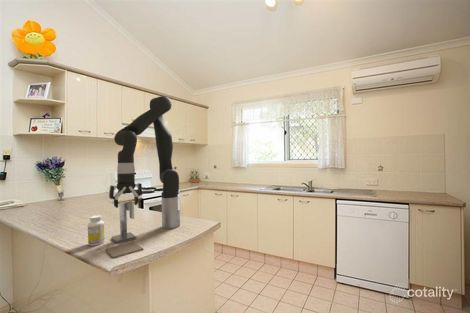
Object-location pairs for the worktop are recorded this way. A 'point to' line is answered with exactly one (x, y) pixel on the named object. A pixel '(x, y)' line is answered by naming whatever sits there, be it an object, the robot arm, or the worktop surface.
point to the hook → (121, 206)
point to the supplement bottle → (95, 231)
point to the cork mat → (123, 249)
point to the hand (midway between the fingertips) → (126, 206)
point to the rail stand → (124, 227)
